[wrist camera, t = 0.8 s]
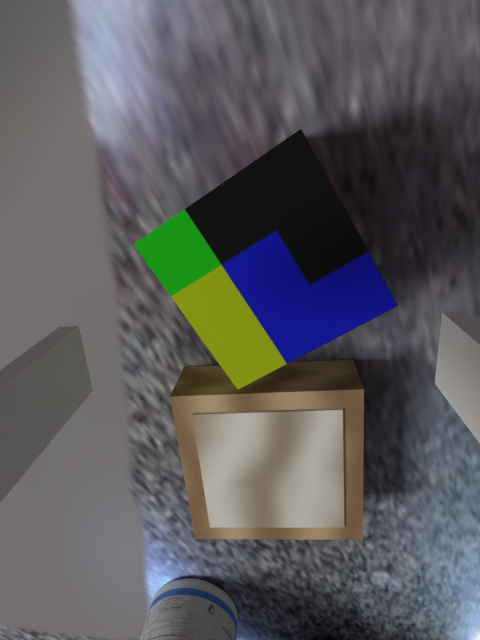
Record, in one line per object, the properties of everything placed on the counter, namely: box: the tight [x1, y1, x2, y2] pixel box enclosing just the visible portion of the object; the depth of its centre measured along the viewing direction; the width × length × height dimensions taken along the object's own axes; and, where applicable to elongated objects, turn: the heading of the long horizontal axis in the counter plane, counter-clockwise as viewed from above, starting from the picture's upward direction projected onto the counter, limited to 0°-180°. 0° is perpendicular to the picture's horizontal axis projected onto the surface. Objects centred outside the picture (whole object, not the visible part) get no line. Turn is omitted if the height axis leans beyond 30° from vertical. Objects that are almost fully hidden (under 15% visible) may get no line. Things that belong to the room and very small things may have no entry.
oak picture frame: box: [170, 359, 364, 540], centre depth 34 cm, size 14×14×5 cm
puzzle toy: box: [134, 129, 398, 390], centre depth 26 cm, size 10×10×10 cm
